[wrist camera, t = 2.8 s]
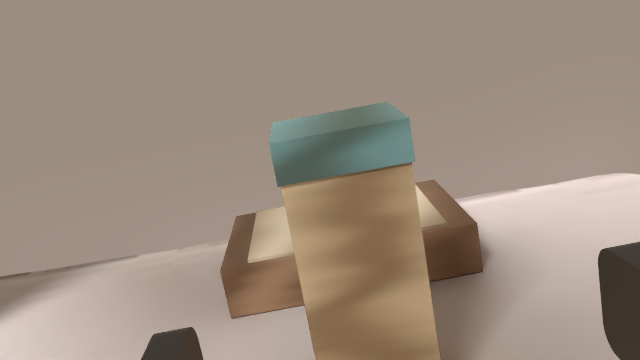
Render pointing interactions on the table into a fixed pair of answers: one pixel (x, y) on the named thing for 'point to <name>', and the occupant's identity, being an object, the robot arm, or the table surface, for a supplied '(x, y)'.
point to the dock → (280, 264)
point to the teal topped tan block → (357, 233)
